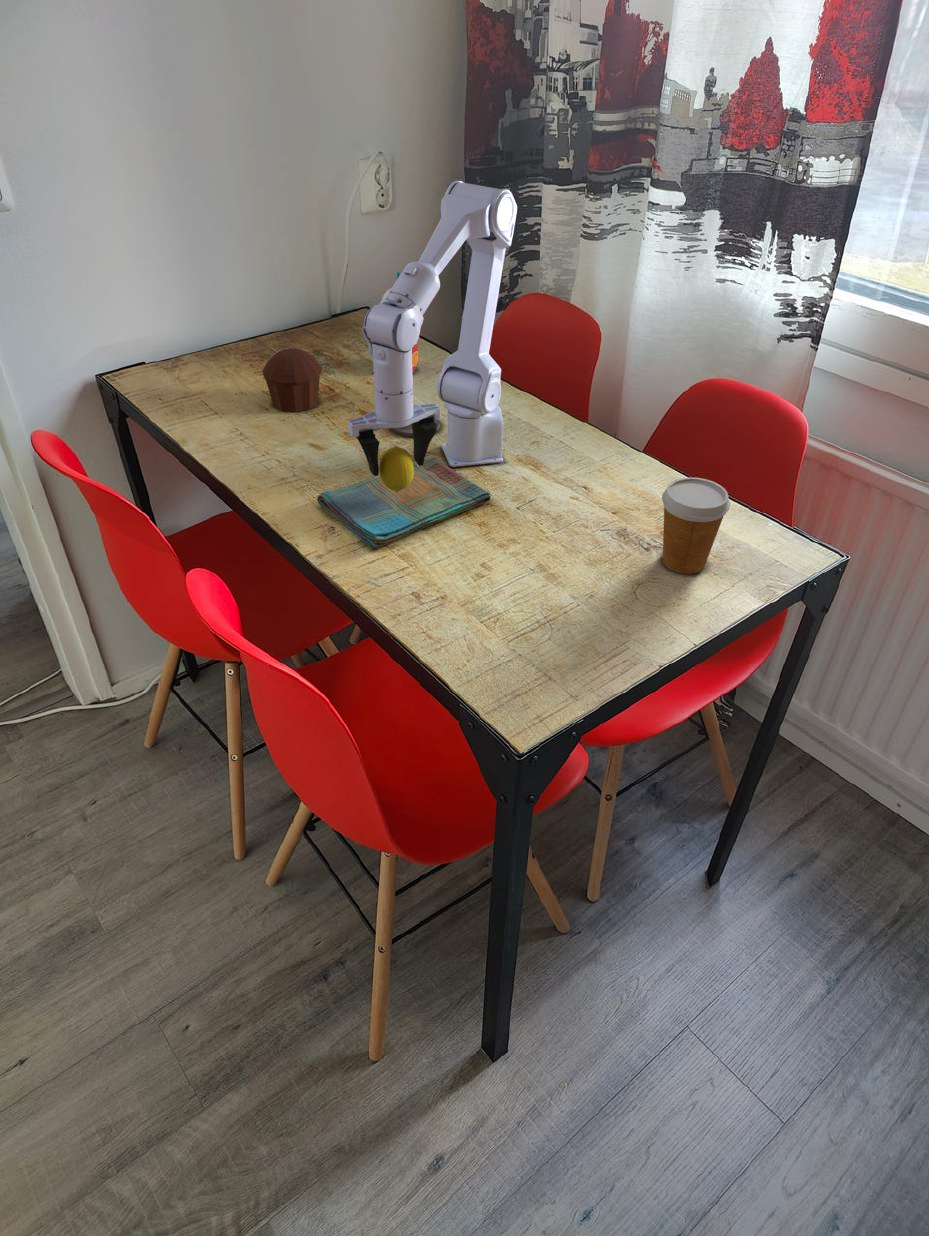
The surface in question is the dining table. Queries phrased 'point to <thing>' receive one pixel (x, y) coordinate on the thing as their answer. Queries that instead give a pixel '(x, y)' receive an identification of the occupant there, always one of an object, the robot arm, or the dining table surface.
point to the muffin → (293, 380)
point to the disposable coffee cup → (691, 522)
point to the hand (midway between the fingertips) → (396, 467)
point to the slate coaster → (410, 429)
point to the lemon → (396, 468)
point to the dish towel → (402, 503)
